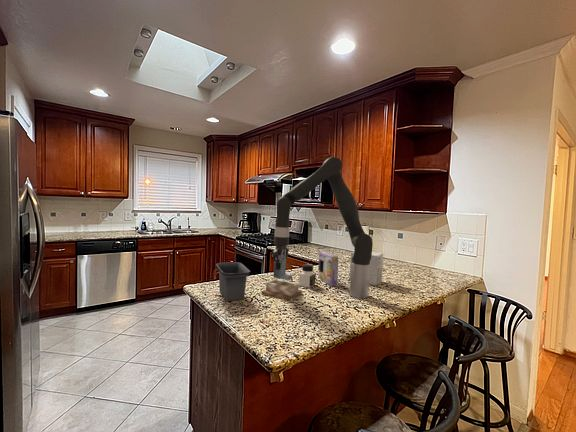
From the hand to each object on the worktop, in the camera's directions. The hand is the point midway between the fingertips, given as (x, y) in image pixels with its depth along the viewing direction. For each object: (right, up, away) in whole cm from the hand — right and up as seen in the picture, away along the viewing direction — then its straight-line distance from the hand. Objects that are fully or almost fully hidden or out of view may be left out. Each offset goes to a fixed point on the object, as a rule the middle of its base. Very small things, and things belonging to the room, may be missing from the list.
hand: (279, 268), depth 153 cm
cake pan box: (+28, -13, +26) cm, 40 cm away
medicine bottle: (+15, -13, +17) cm, 26 cm away
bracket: (+1, -5, -1) cm, 5 cm away
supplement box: (+53, -14, +33) cm, 64 cm away
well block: (+1, -13, 0) cm, 13 cm away
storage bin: (-25, -12, -7) cm, 29 cm away
